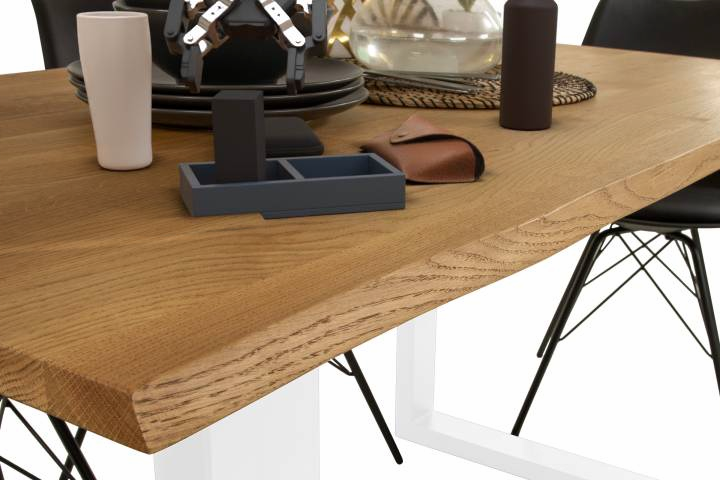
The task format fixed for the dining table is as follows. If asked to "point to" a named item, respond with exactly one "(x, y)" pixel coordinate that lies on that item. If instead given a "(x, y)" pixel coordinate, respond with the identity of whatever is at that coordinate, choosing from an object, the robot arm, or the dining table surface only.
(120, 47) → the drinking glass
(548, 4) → the bottle
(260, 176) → the black rectangular block
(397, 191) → the tray
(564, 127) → the dining table surface
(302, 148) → the carrying case
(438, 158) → the sunglasses case
